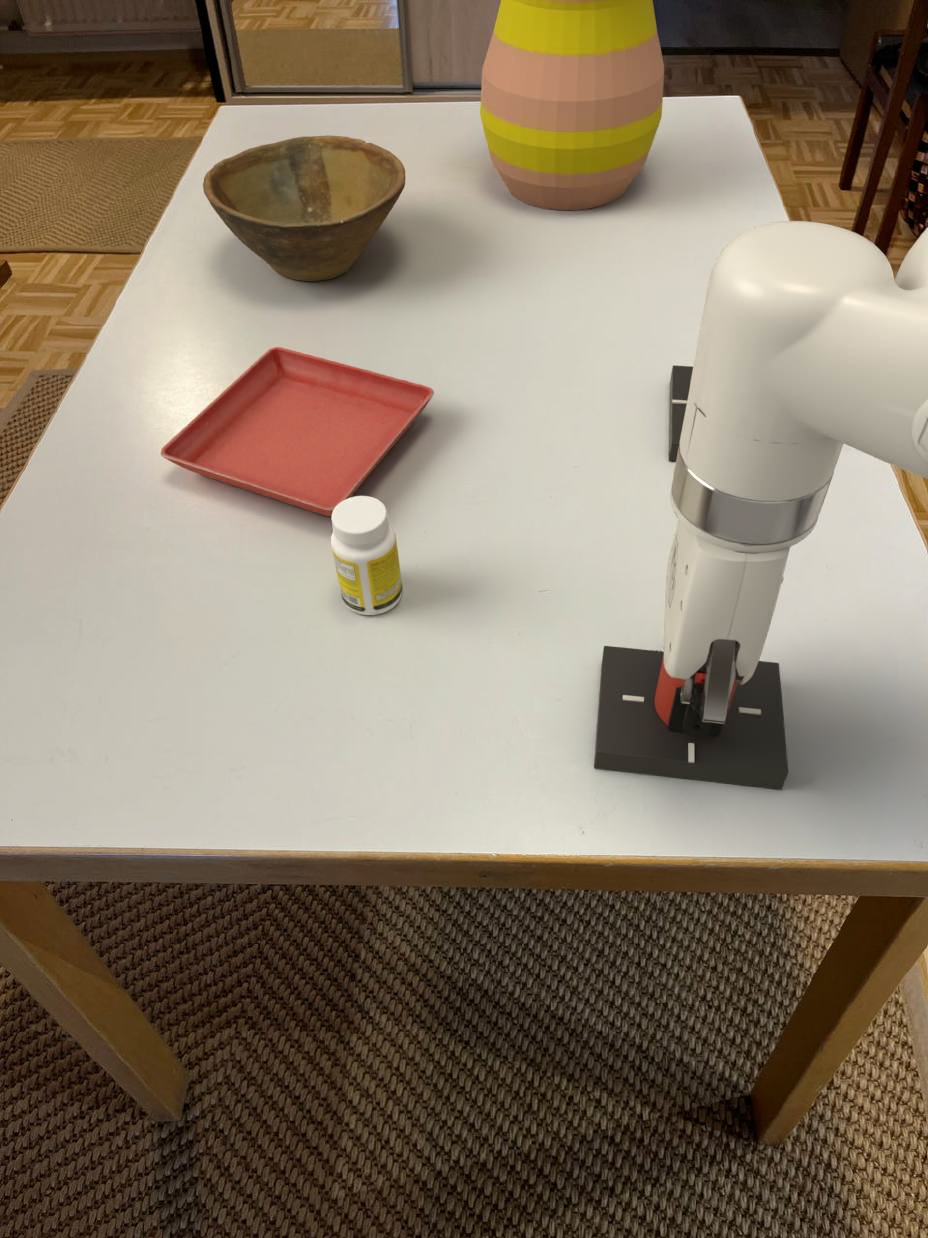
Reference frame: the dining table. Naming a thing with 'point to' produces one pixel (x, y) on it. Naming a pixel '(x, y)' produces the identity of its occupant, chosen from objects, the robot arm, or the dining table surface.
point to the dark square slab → (678, 405)
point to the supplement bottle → (366, 556)
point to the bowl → (306, 201)
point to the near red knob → (668, 689)
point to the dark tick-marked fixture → (648, 747)
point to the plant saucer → (299, 429)
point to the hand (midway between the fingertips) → (693, 693)
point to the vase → (571, 98)
